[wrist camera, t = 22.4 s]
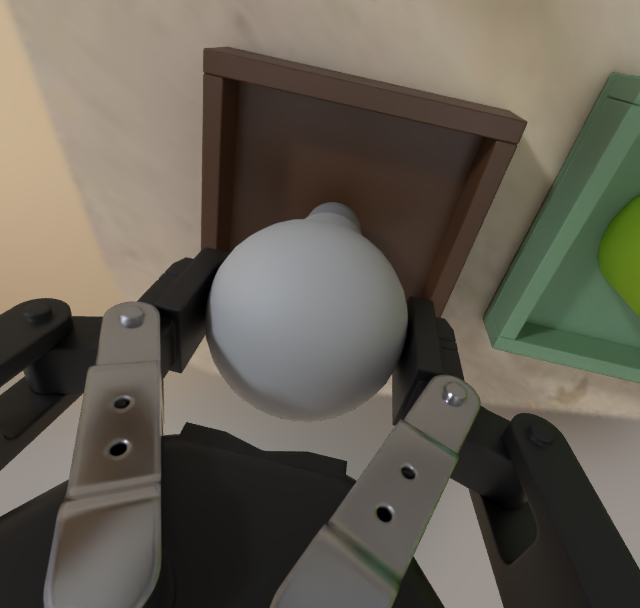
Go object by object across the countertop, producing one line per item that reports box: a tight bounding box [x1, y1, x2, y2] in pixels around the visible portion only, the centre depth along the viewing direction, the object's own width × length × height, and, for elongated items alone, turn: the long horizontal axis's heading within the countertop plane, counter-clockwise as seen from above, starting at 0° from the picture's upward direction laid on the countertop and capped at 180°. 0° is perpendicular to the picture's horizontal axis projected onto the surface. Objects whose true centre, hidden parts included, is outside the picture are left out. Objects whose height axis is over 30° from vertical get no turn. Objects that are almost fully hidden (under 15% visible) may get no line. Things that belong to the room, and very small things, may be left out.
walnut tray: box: [201, 47, 527, 318], centre depth 19 cm, size 12×12×3 cm
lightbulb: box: [205, 202, 408, 422], centre depth 14 cm, size 6×6×11 cm
